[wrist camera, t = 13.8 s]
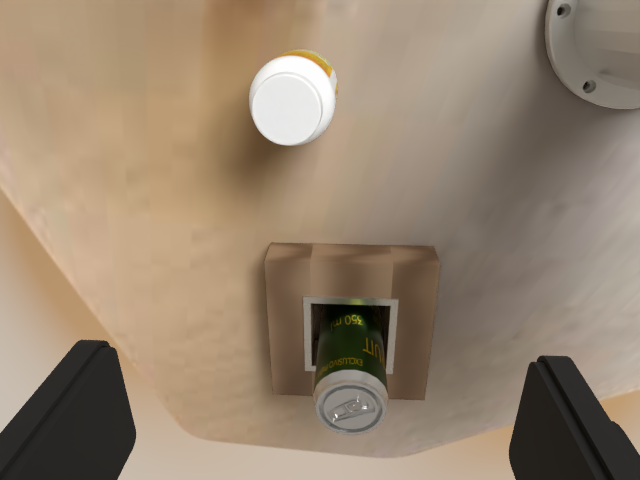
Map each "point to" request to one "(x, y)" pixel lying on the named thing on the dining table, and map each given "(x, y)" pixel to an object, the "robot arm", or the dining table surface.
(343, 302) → the jig bore mouth
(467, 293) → the dining table surface
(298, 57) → the supplement bottle
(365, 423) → the beer can
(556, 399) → the robot arm
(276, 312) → the block
